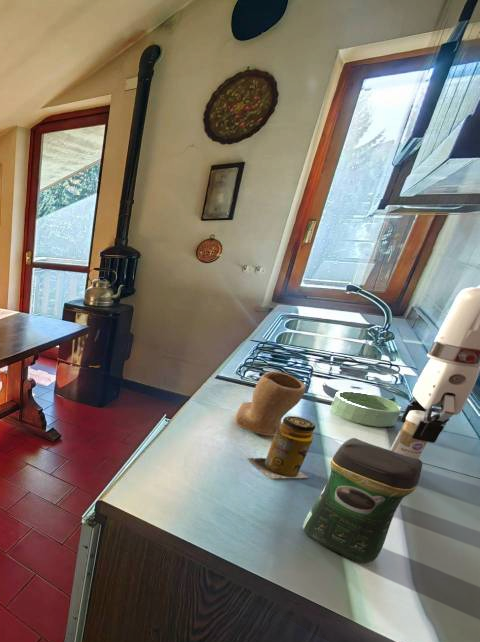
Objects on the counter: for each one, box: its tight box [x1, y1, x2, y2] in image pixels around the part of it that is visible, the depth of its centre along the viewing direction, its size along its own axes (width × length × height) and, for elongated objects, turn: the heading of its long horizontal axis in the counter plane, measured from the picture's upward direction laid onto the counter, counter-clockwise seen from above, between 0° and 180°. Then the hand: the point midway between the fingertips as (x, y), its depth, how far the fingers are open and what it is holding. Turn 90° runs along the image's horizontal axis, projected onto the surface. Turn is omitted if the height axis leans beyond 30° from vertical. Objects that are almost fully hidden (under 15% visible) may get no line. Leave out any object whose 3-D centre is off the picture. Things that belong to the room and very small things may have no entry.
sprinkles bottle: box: [389, 410, 435, 460], centre depth 84 cm, size 5×5×13 cm
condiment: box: [246, 415, 316, 479], centre depth 83 cm, size 7×8×12 cm
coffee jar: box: [302, 437, 423, 563], centre depth 63 cm, size 10×8×19 cm
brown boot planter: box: [234, 371, 307, 437], centre depth 100 cm, size 15×12×15 cm
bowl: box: [329, 390, 404, 428], centre depth 107 cm, size 13×13×5 cm
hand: (416, 430), depth 82 cm, fingers open, 8 cm apart
